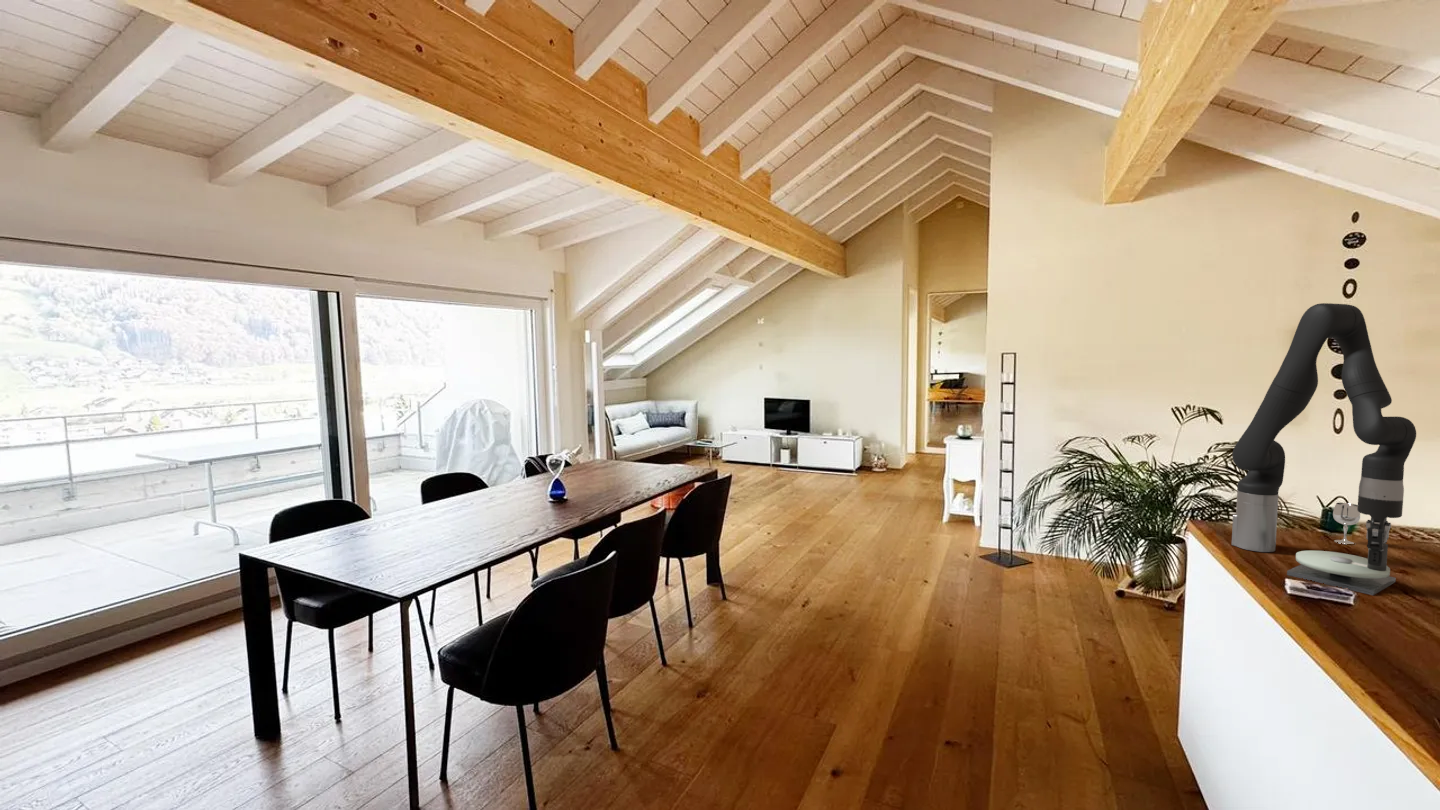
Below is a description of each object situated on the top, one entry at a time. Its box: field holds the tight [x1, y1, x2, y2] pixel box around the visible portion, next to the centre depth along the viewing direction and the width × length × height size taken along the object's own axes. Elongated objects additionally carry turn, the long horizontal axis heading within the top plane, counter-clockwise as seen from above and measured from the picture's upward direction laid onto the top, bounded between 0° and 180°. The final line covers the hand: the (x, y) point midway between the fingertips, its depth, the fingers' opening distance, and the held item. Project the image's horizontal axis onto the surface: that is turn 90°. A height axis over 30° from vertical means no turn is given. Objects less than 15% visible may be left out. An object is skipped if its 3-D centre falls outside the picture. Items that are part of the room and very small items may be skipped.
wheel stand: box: [1286, 564, 1396, 596], centre depth 156 cm, size 16×16×3 cm
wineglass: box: [1332, 502, 1361, 545], centre depth 183 cm, size 6×6×12 cm
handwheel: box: [1295, 542, 1391, 578], centre depth 155 cm, size 17×17×8 cm
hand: (1375, 563), depth 150 cm, fingers closed on handwheel, 3 cm apart
